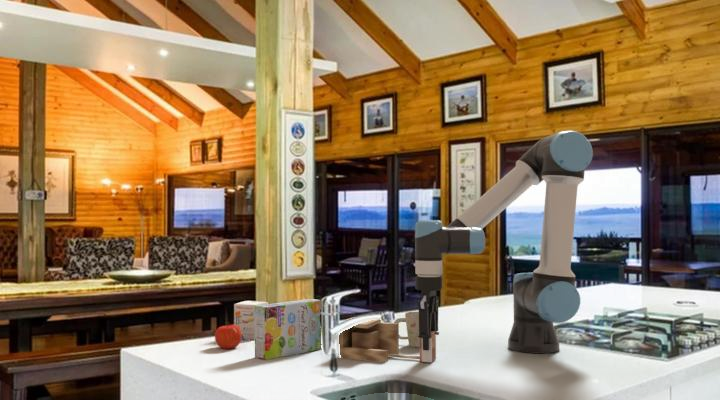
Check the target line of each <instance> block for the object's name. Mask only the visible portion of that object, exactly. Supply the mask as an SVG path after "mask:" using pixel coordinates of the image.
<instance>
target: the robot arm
mask: <svg viewBox="0 0 720 400" xmlns="http://www.w3.org/2000/svg"><path fill="white" fill-rule="evenodd" d="M593 155H594V151H593V147H592V144H591V142H590V140H589V139H588V138H587V137H586V136H585V135H584V134H583V133H581V132H579V131H575V130H563V131H560V132H557V133H556V134H555V133H554V134H552V135H549V136H546V137H545V136H544V137H542V138H541V139H540V140H538V141H537V142H536V143H535V144H533V146H531V147H530V148H529V149H528V150H527V151H526V152H525V153H524V154H523V155H522V156H521V157H520V158H519V159H518V160H516V161H515V167H513V168H512V169H511V170H510V171H509V172H507V173H506V174H505V175H504V176H503V177H502V178H501V179H500V180H498V181H497V182H496V183H495V184H494V185H493V186H492V187H490V188H489V189H488V190H487V191H486V192H485V193H483V195H481V196H479V198H478V199H477V200H476V201H475V202H473V203H472V204H471V205H470V206H468V208H466V209H465V210H464V211H463V212H462V213H461V214H460V215H458V216H457V217H456V218H455V219H454V220H453V221H451V222H450V223H449V224H448V225H445V226H443V222H442V220H439V219H437V220H426V219H425V220H424V219H423V220H418V221H416V223H415V231H414V243H415V244H414V247H415V250H414V251H415V252H414V253H415V255H414V256H415V258H414V259H415V262H414V263H413V266H414V267H415V270H414V271H415V275H416V276H415V278H414V287H415V290H417V291H421V296H420V297H419V300H418V301H417V308H418V312H419V335H418V337H419V338H422V362H421V363H429V362H432V338H430V337H431V331H435V360H436V359H437V336H439V335H440V332H439V304H440V303H439V301H440V296H437V291H441V290H442V289H443V277H442V276H441V275H443V255H450V254H451V255H480V254H481V253H483V252H484V250H485V247H486V235H485V232H484V230H483V229H484V228H485V227H486V226H487V225H488V224H489V223H491V222H492V221H493V220H494V219H495V218H496V217H497V216H499V215H500V214H501V213H502V212H503V211H504V210H505V209H506V208H508V207H509V206H510V205H511V204H512V203H513V202H514V201H516V200H517V199H518V198H519V197H520V196H521V195H522V194H524V193H525V192H526V191H527V190H528V189H529V188H530V187H533V185H534V186H537V185H539V184H541V182H543V181H544V182H545V184H546V186H545V197H544V210H543V221H542V231H541V242H540V255H539V256H540V257H539V265H538V267H537V268H535V269H534V270H533V272H520V273H516V274H515V275H514V276H513V283H512V289H513V290H512V291H513V323H512V327H511V329H510V333H509V337H508V339H507V340H508V341H507V348H508V349H509V350H513V351H515V352H516V351H517V352H523V353H532V354H547V353H548V354H549V353H556V352H558V351H560V341H559V338H558V335H557V332H556V328H555V326H554V323H557V324H560V323H564V322H567V321H569V320H571V319H572V318H573V317H575V316H576V315H577V313H578V311H579V309H580V307H581V295H580V293H579V291H578V290H577V288H576V287H575V285H576V275H575V273H574V272H573V270H572V268H571V267H572V266H571V265H572V256H573V243H574V233H575V231H574V230H575V220H576V208H577V207H576V206H577V197H578V196H577V195H578V187H579V185H580V184H581V183H582V182H584V179H585V170H586V168H587V167H589V165H590V163H591V162H592V160H593ZM432 363H433V362H432Z"/></svg>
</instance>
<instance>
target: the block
mask: <svg viewBox="0 0 720 400" xmlns="http://www.w3.org/2000/svg"><path fill="white" fill-rule="evenodd" d="M430 338H432V362H428V364H429V363H431V364H432V363H434V362H435V361H436V359H435V331H431V337H430ZM352 347H354V348H366V349H379V330H365V329H359V330H357V331H354V332H352ZM388 358H401V359H409V360H410V359H412V360H419V362H420V363H423V362H422V338H420V347H419V355H410V354H399V355H398V354H388Z"/></svg>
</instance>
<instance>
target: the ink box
mask: <svg viewBox="0 0 720 400" xmlns="http://www.w3.org/2000/svg"><path fill="white" fill-rule="evenodd" d="M266 304H269V301H268V302H267V301H260V300H259V301H256V300H244V301H240V302H237V303H234V304H233V325H237V326H238V327H239V328H240V330H241V333H242V337H241V340H249V341H250V340H251V341H255V312H254V307H255V306H258V305H266Z"/></svg>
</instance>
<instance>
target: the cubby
mask: <svg viewBox="0 0 720 400" xmlns="http://www.w3.org/2000/svg"><path fill="white" fill-rule="evenodd" d="M352 318H355V317H354V316H353V317H349V318H346V319H345V320H349V319H352ZM376 319H377V320H371V321H368V322H365V323H361V324H358V325H356V326H353V327H352V328H350V329H348V330H345V331H343V332H342V333H340V335H339V344H340V355H341V358H340V359H344V358H345V359H346V360H356V361H357V360H358V361H368V362H369V361H370V362H378V363H387V362H388V361H389V357H388V354H399V355H400V353H399V352H400V351H399V350H400V349H399V348H400V347H399V345H400V344H399V340H400V339H399V335H400V334H399V331H400V330H399V327H400V326H399V325H400V322H399V323H394V322H383V321H382V319H381V318H376ZM380 319H381V320H380ZM345 320H343V321H345ZM359 329H365V330H379V349H366V348H354V347H352V332H354V331H357V330H359Z"/></svg>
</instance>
